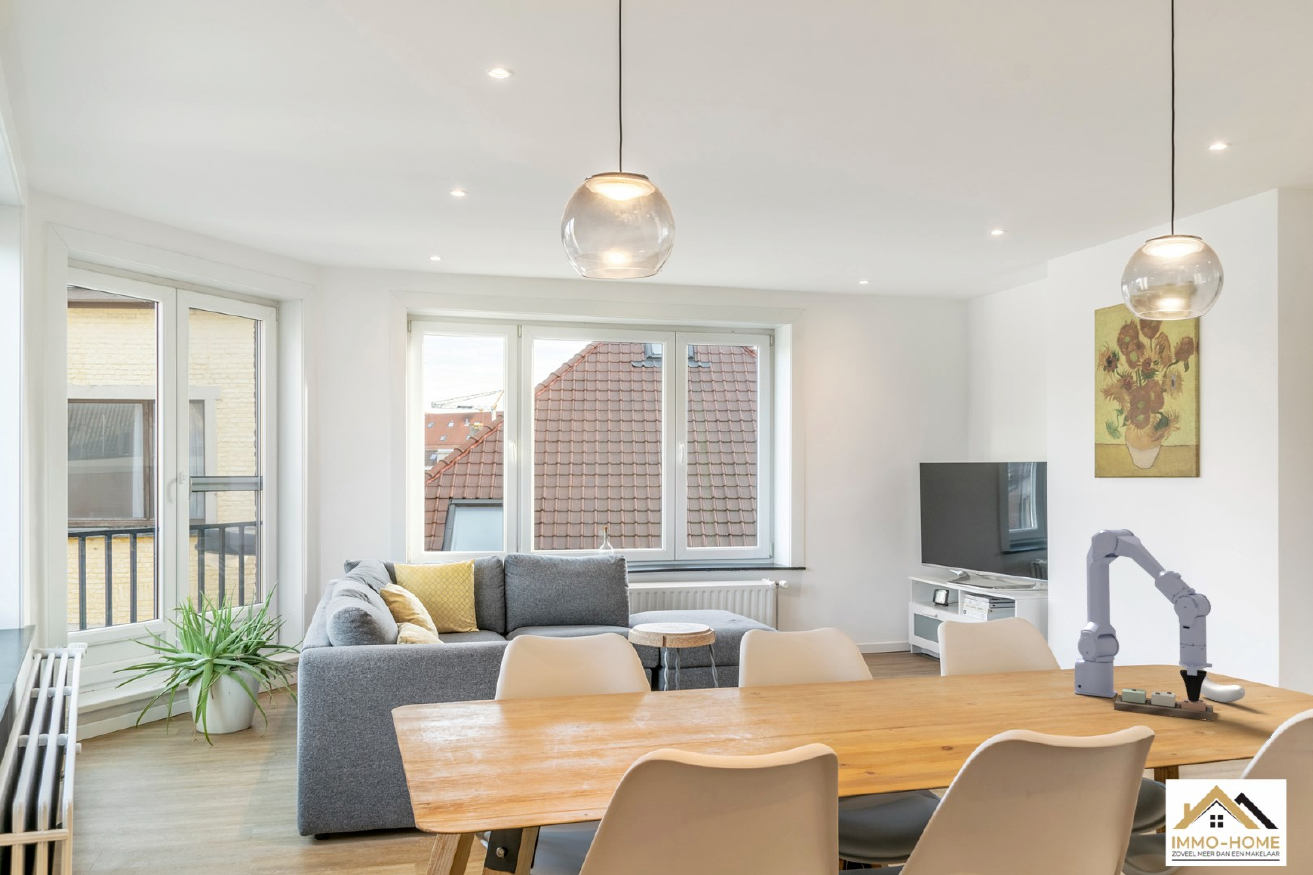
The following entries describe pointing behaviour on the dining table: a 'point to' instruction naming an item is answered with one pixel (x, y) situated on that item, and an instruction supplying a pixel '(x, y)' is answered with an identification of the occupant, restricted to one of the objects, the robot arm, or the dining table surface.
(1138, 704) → the dice tray
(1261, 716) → the dining table surface
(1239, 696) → the banana
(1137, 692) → the tile one
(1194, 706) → the tile three
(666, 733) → the dining table surface
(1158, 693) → the tile two
